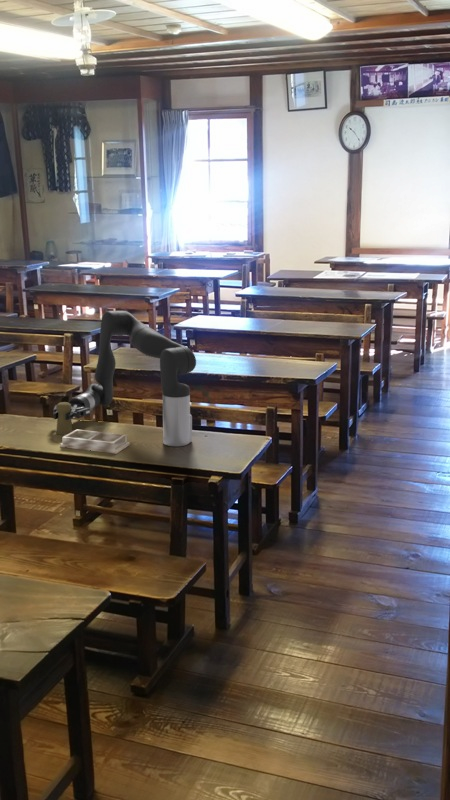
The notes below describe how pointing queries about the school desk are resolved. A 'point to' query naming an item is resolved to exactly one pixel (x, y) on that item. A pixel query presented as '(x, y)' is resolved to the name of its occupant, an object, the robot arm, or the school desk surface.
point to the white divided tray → (95, 441)
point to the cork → (63, 419)
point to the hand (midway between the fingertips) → (60, 416)
